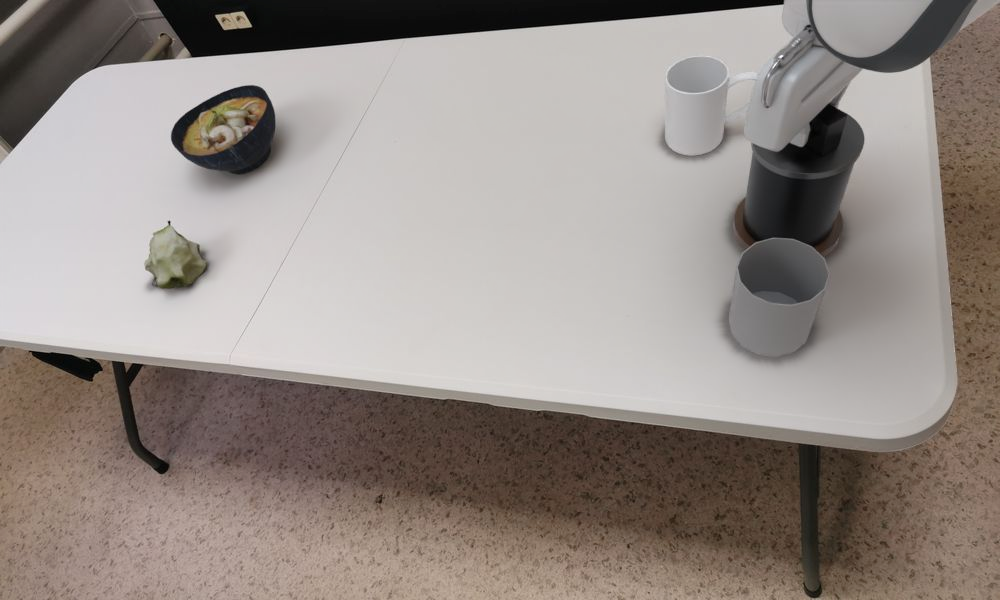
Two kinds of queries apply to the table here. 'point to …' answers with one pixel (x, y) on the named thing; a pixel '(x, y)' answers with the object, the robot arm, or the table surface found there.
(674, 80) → the mug
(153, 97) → the table surface
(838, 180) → the bin
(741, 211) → the disc
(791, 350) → the cup
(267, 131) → the bowl
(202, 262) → the fruit
